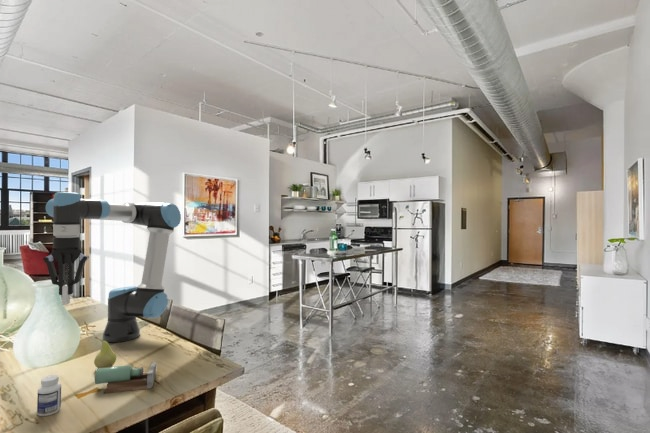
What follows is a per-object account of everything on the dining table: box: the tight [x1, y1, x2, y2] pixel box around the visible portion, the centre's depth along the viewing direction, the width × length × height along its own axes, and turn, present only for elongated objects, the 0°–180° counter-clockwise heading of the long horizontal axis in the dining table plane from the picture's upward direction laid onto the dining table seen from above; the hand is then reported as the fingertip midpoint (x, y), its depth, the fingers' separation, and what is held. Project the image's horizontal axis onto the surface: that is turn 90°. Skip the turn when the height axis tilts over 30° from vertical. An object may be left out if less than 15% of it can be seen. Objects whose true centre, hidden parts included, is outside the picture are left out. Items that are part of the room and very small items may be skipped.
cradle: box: [103, 361, 157, 394], centre depth 118 cm, size 9×14×5 cm, turn 108°
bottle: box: [94, 364, 144, 385], centre depth 117 cm, size 5×5×14 cm
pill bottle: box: [36, 374, 62, 417], centre depth 101 cm, size 5×5×10 cm
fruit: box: [93, 336, 117, 369], centre depth 130 cm, size 7×8×12 cm
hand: (66, 303), depth 121 cm, fingers closed
